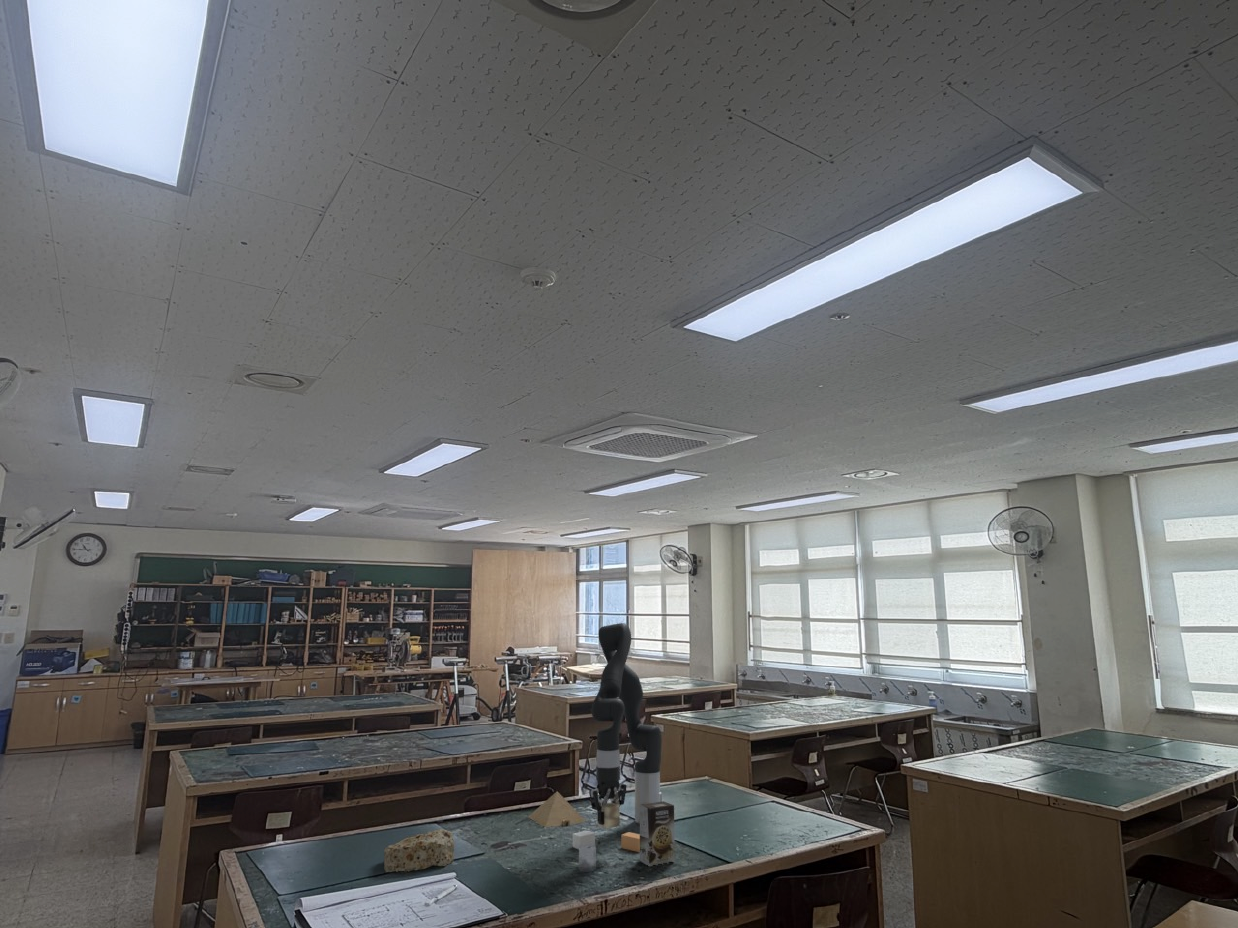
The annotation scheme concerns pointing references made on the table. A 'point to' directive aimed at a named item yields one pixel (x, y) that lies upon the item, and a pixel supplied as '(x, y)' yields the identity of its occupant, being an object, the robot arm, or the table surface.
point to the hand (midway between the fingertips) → (608, 821)
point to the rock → (420, 852)
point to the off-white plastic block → (583, 838)
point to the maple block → (611, 816)
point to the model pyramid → (556, 812)
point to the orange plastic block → (630, 841)
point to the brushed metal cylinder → (587, 857)
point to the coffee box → (656, 833)
